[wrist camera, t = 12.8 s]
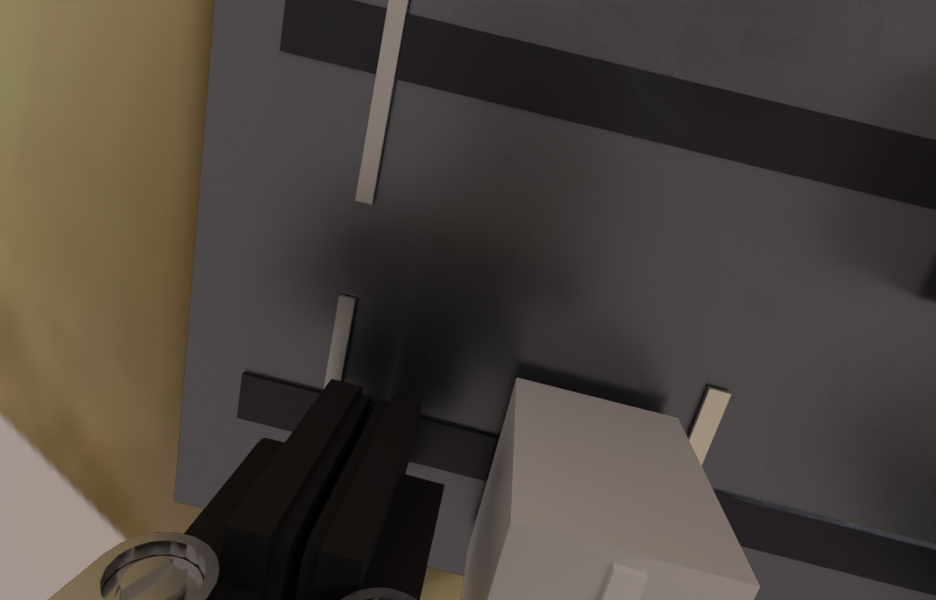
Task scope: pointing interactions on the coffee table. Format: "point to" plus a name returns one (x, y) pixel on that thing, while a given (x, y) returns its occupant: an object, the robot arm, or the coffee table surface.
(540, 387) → the fader
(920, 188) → the console
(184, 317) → the coffee table surface
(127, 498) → the coffee table surface
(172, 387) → the coffee table surface
